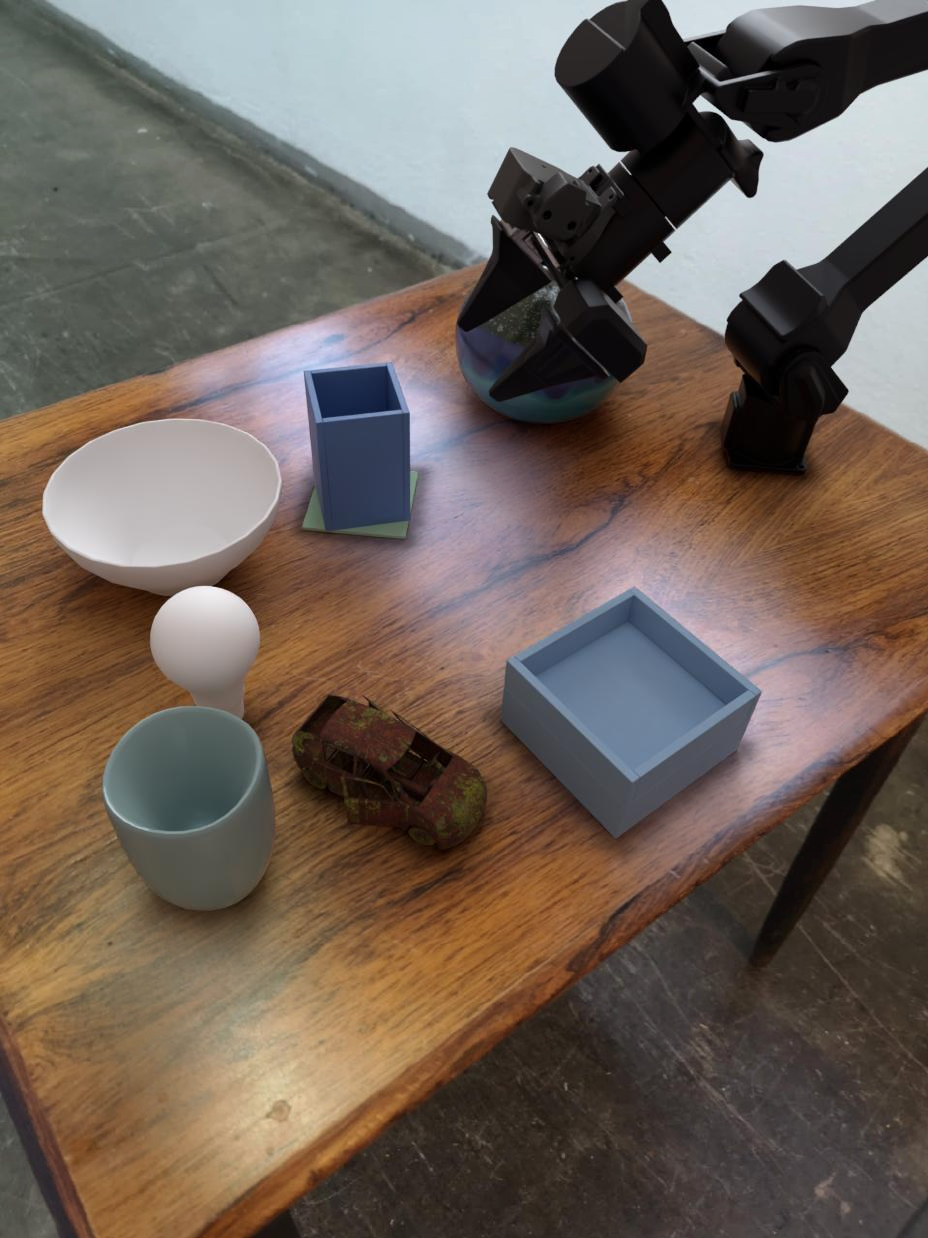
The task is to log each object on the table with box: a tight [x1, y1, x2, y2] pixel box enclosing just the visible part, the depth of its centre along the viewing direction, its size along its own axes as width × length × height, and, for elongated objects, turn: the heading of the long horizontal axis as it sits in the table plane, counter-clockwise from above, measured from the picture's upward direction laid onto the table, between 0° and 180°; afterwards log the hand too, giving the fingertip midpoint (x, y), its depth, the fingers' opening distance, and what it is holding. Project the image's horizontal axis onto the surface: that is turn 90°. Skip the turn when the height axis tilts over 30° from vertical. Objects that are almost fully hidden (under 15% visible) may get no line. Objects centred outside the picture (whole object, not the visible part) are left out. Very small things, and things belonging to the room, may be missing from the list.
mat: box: [301, 470, 419, 540], centre depth 76 cm, size 8×8×1 cm
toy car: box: [291, 694, 488, 850], centre depth 56 cm, size 12×7×5 cm, turn 60°
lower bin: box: [500, 585, 763, 839], centre depth 59 cm, size 11×11×6 cm
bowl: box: [41, 418, 283, 597], centre depth 68 cm, size 16×16×7 cm
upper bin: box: [303, 361, 411, 531], centre depth 72 cm, size 7×7×10 cm
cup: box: [101, 705, 277, 912], centre depth 50 cm, size 8×8×10 cm
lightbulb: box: [149, 586, 261, 720], centre depth 57 cm, size 6×6×11 cm
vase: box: [454, 262, 634, 425], centre depth 82 cm, size 15×15×13 cm
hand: (475, 361), depth 68 cm, fingers open, 9 cm apart
